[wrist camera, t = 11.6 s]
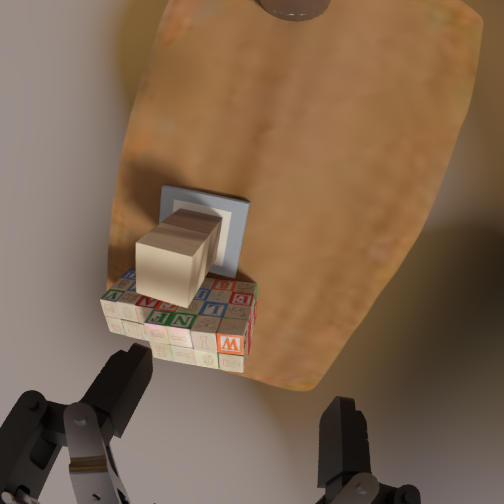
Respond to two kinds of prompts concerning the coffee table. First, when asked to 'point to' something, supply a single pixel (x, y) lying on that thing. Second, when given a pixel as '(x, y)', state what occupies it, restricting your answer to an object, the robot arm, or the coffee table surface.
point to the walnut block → (199, 229)
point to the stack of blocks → (188, 322)
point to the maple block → (171, 263)
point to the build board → (214, 205)
